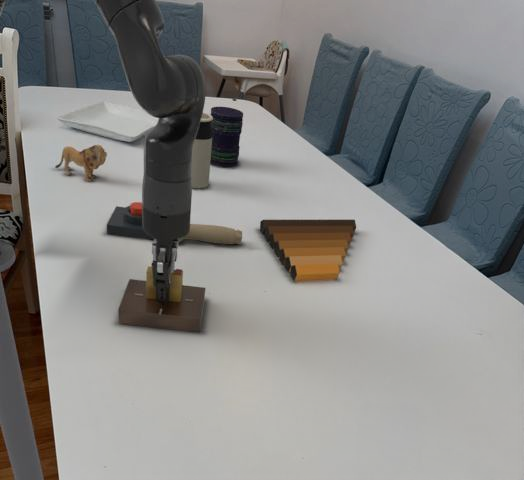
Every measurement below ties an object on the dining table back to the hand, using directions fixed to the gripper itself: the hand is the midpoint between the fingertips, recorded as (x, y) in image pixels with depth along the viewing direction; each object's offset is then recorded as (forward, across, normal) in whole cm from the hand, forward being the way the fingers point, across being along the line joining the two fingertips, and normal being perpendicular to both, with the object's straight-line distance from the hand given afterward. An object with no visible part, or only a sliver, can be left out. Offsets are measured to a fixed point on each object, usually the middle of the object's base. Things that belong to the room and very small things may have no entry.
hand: (164, 294), depth 88 cm
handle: (+2, -30, +14) cm, 33 cm away
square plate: (+4, -102, -29) cm, 106 cm away
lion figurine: (+4, -58, -29) cm, 65 cm away
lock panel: (+4, 0, 0) cm, 4 cm away
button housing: (+4, -32, -10) cm, 34 cm away
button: (0, -32, -10) cm, 34 cm away
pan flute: (+4, -31, +34) cm, 46 cm away
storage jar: (+4, -84, +7) cm, 84 cm away
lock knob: (+1, 0, 0) cm, 1 cm away
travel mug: (+4, -63, 0) cm, 63 cm away
